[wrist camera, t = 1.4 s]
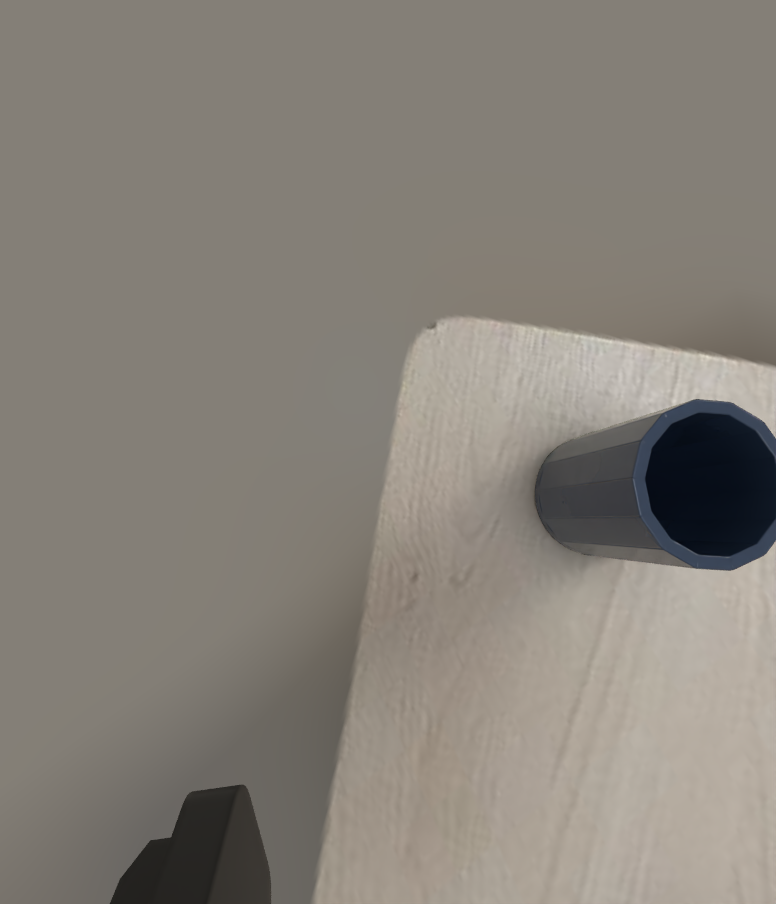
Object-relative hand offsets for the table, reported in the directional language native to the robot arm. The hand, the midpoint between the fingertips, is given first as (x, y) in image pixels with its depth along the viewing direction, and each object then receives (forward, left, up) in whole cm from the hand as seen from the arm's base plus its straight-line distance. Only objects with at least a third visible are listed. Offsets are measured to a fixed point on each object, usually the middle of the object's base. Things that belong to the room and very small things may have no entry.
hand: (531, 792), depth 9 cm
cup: (+8, +8, -19) cm, 22 cm away
